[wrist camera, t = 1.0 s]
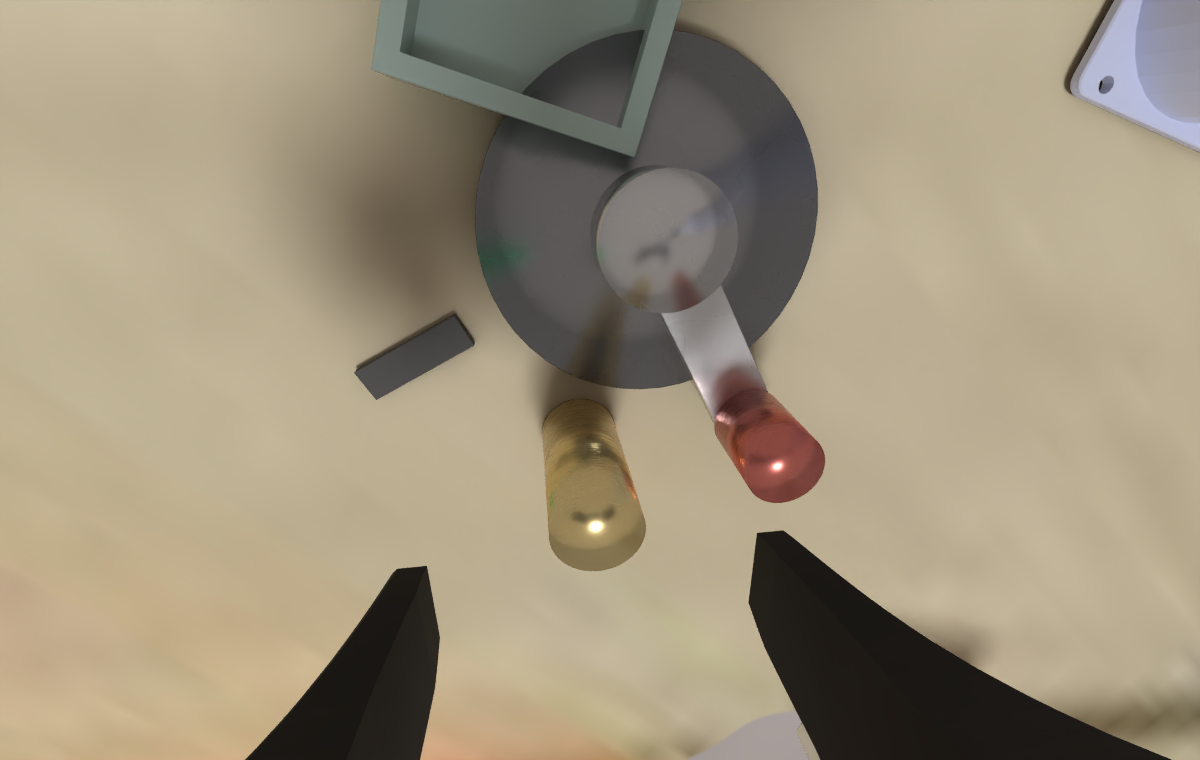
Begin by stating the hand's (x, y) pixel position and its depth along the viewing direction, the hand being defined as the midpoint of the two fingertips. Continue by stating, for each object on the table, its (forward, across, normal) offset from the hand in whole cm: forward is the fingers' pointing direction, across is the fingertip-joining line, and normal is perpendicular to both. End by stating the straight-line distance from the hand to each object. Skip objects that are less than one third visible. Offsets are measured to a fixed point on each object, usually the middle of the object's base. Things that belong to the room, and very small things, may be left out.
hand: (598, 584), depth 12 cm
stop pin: (+10, 0, +2) cm, 10 cm away
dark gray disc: (+10, -3, -6) cm, 12 cm away
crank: (+8, -4, -3) cm, 10 cm away
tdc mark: (+10, +5, -2) cm, 11 cm away
